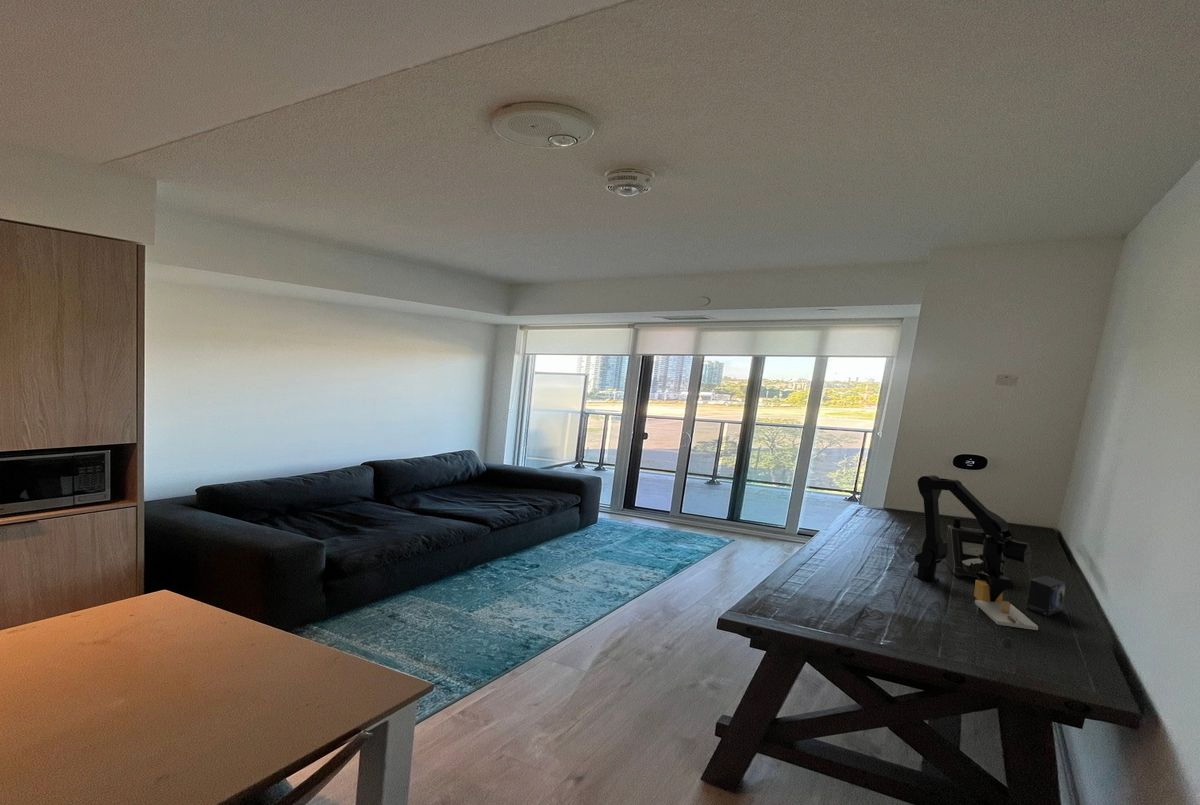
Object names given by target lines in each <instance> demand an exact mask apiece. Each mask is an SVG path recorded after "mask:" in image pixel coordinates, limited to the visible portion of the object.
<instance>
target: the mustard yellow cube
mask: <svg viewBox="0 0 1200 805" xmlns="http://www.w3.org/2000/svg"><path fill="white" fill-rule="evenodd" d="M974 582H975V584H974V589H973V590H974V591H973V592H974V593H973V596H974V598H976V600H981V601H989V602H991V601H990V589H989V585H988V584H987V583H986V582H985V581H983V580H979V579H975V581H974ZM987 582H988V581H987ZM1003 595H1004V591H1003V592H1002V593H1001V594H1000V596H999V597H998V598H997V599H996V600H995V601H994V602H996V603H1002V601H1003Z"/></svg>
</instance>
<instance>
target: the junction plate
mask: <svg viewBox="0 0 1200 805" xmlns="http://www.w3.org/2000/svg"><path fill="white" fill-rule="evenodd" d="M974 604H975V605H976V606H977V607H978V608H979V609H980V610H982V611H983V613H985V615H986V616H988V618H989V619H990V620H992V621H993V622H995V624H996V625H999V626H1005V627H1006V626H1007V627H1012V628H1013V627H1014V628H1019V629H1025V630H1026V629H1027V630H1034V631H1038V630H1039V625H1037V624H1036V623H1035V622H1034V621H1032V620H1031V619H1030V618H1028V617H1027V616H1026V615H1025V614H1024V613H1022V611H1020V610H1019V609H1018V608H1017V607H1015V606H1014V605H1013V604H1011V602H1010V601H1007V600H1002V603H996V602H989V601H981V600H978V599H974Z"/></svg>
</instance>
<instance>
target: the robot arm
mask: <svg viewBox="0 0 1200 805" xmlns="http://www.w3.org/2000/svg"><path fill="white" fill-rule="evenodd" d="M917 487H918V491H919V494H920V496H921V497H922V499H923V510H924V525H925V526H924V527H925V528H924V529H925V538H924V540H923V543H922V546H921V547H922V548H921V552H920V553H917V554H916V555H914V561H915V563H918V566H917V573H914V574H913V577H915V578H917V579H920V580H923V581H925V582H928V583H931V582H935V581H936V582H937V581H939V580H940V578H939V577H937V576H936V574H937V565H938V564H940V563H941V562H942V560H945V557H946V556H947V553H949V552H948V549H947V546H948V543H947V541H944V540H943V538H942V537H941V524H940V522H941V521H940V506H939V498H940V496H941V494H942V491H949V492H950V493H951V495H953V496H954V497H955V498H956V499H957V500H958V501H959V502H960V503H961V504H962V505H963V506H964V507H965V508H966V509H967V510H968V511H969V512H970V513H971V514H972V515H973V516H974V517H975V520H976V521H977V524H978V526H979V527H980V528H981V530H983V531H984V532H983V533H982V534H980V535H978V536H977V538H980V539H983V540H984V542H983V552H982V554H980V555H979V557H978V558H976V559H968V560H963V561H962V564H963V568H964V570H965V571H967V573H969V574H973V573H975V574H976V575H977V576H978V577H977V580H983V581H985V582H986V583H987V584H988V585H989V589H990V601H991V602H994V601H995V600H996V599H997V598H998V597H999V596H1000V594H1001V593H1002V592H1003V593H1004V591H1006V589H1010V590H1011V589H1012V590H1013V589H1014V582H1013V580H1011V579H1010V578H1009V577H1008V576H1006V575H1005V571H1004V572H1003V571H1002V570H1001V568H1002V563H1003V564H1005V562H1006V560H1005V559H1008V560H1011V561H1013V562H1017V563H1020V564H1023V565H1028V564H1030V562H1031V560H1032V557H1033V552H1032V549H1031V547H1030V545H1031V544H1030V543H1028V542H1022V541H1018V540H1016V538H1015V536H1014V535H1013V533H1012V532H1011V530H1010V529H1009V524H1008V522H1007V521H1006V520H1005V519H1004V518H1002V517H1001V516H1000V515H998V514H997V513H995V512H994V511H991V510H989V509H988V508H987V507H986V506H985V505H984V504H983V503H982V502H981V501H980V500H979V499H978V498H977V497H976V496H975V495H974V494H972V492H971V491H970V490H968V488H966V486H965V485H963V483H962V482H961V481H960V480H958V479H951V478H949V479H948V478H943V477H942V478H940V477H939V476H938V475H934V474H933V475H923V476H920V477H919V478H918V479H917ZM1003 557H1005V559H1004V558H1003ZM999 574H1000V575H1004V576H999ZM987 581H988V582H987Z"/></svg>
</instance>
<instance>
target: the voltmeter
mask: <svg viewBox="0 0 1200 805" xmlns="http://www.w3.org/2000/svg"><path fill="white" fill-rule="evenodd" d="M961 521H962V519H961V518H960V517H954V518H953V522H952V525H949V524H948V525H947V533H946V542H947V543H948V546H947V549H948V552H949V553H947V556H946V557H945V558H944V561H945V563H946V564H947V565H948V567H949V568H950V570H951V572H953V574H955V576H956V575H957V576H956V577H958V576H962V577H963V576H967V577H974V578H978V576H977V575H976V574H975V573H973V574H969V573H967V571H965V570H964V568H963V564H962V561H963V560H968V559H976V558H978V557H979V555H980V554H982V552H983V542H984V540H983V539H980V538H977V536H978V535H980V534H982V533H983V532H984V531H983V530H982V529H977V528H972V527H964V526H961V525H962V523H961ZM1001 570H1002V571H1003V572H1004V573H1005V570H1004V563H1002V568H1001ZM999 576H1005V574H1004V575H1000V574H999Z"/></svg>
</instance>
